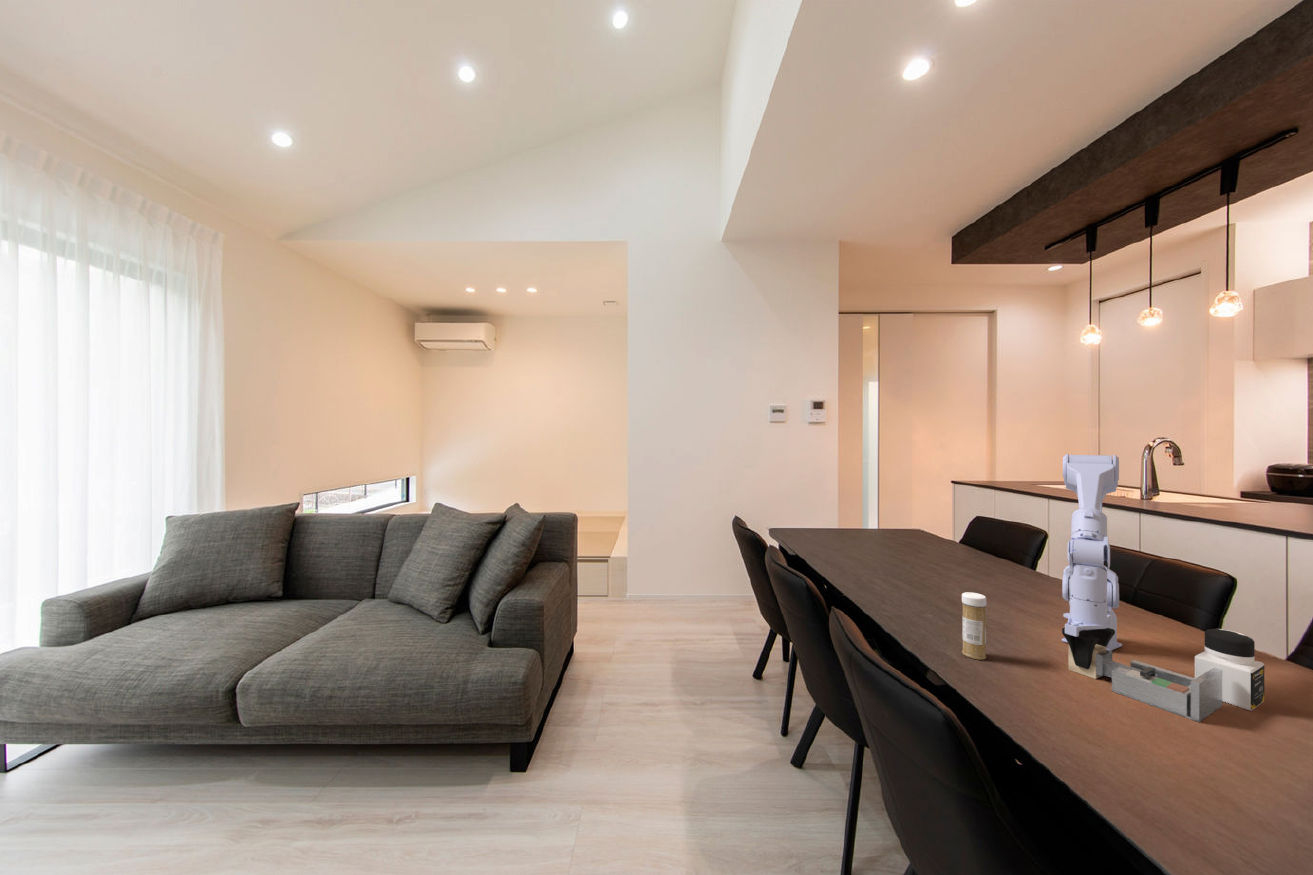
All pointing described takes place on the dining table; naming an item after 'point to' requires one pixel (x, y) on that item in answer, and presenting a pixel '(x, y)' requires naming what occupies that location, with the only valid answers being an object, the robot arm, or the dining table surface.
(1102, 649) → the block
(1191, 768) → the dining table surface
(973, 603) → the sprinkles bottle
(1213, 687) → the gauge housing
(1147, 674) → the grey l-shaped piece
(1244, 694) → the medicine bottle
